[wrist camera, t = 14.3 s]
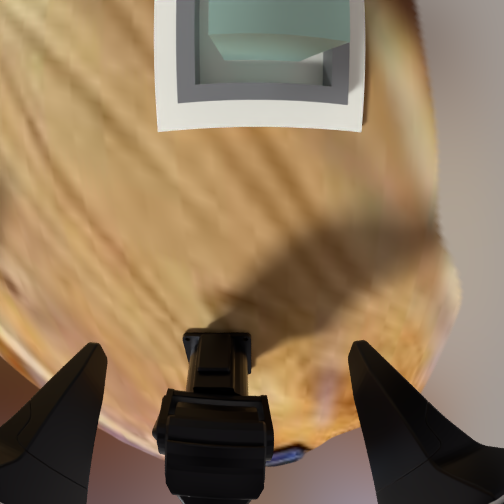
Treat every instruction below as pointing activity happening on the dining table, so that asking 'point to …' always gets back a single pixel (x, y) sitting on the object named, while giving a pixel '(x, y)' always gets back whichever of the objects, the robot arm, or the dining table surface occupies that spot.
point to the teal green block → (277, 28)
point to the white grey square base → (252, 78)
